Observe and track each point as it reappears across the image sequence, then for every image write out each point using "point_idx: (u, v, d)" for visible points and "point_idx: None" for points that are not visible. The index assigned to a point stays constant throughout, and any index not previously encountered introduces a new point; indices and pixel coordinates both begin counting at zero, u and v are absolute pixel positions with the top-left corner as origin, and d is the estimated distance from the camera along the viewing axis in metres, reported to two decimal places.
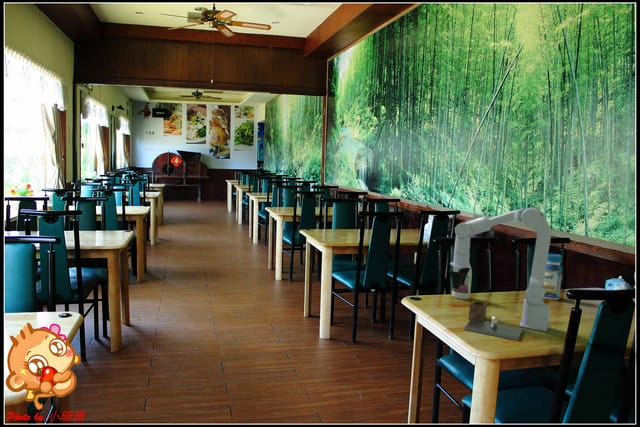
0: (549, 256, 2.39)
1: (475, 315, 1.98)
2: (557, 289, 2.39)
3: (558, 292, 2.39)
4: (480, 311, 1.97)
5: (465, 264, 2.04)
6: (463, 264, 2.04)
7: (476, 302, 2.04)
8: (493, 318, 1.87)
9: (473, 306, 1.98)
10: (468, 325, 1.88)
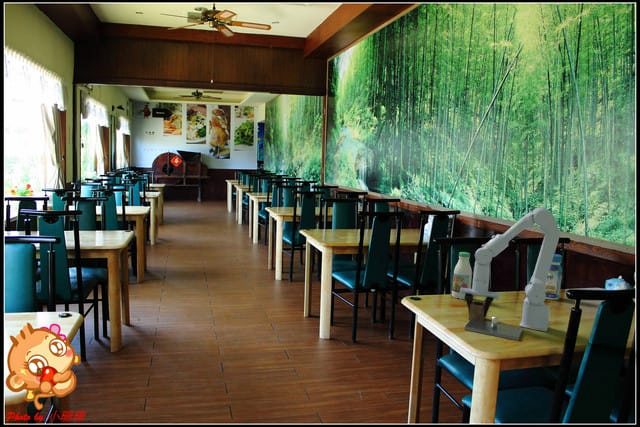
0: None
1: (475, 315, 1.98)
2: (557, 289, 2.39)
3: (558, 292, 2.39)
4: (480, 311, 1.97)
5: (474, 290, 1.99)
6: (472, 289, 2.00)
7: (476, 302, 2.04)
8: (493, 318, 1.87)
9: (473, 306, 1.98)
10: (468, 325, 1.88)
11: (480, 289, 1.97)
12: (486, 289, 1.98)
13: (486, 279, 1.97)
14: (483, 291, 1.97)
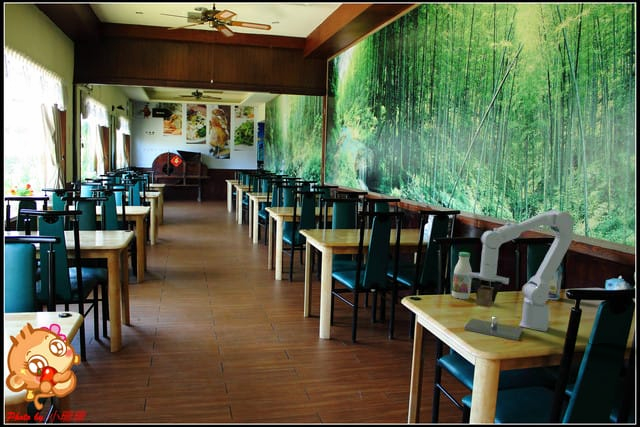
0: None
1: (483, 300, 1.92)
2: (557, 289, 2.39)
3: (558, 292, 2.39)
4: (488, 296, 1.91)
5: (482, 274, 1.93)
6: (480, 274, 1.94)
7: (484, 287, 1.98)
8: (493, 318, 1.87)
9: (481, 291, 1.92)
10: (468, 325, 1.88)
11: (488, 273, 1.91)
12: (494, 273, 1.92)
13: (496, 263, 1.92)
14: (491, 275, 1.91)
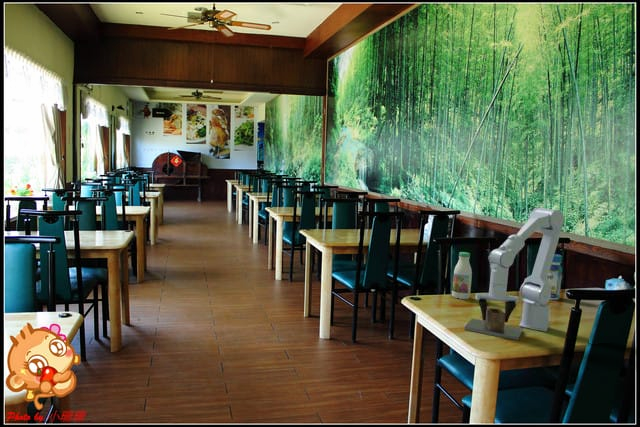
0: None
1: (496, 324, 1.84)
2: (557, 289, 2.39)
3: (558, 292, 2.39)
4: (502, 319, 1.84)
5: (494, 295, 1.84)
6: (491, 294, 1.85)
7: (489, 309, 1.90)
8: None
9: (494, 315, 1.84)
10: (468, 325, 1.88)
11: (501, 294, 1.84)
12: (505, 293, 1.85)
13: None
14: (504, 295, 1.84)
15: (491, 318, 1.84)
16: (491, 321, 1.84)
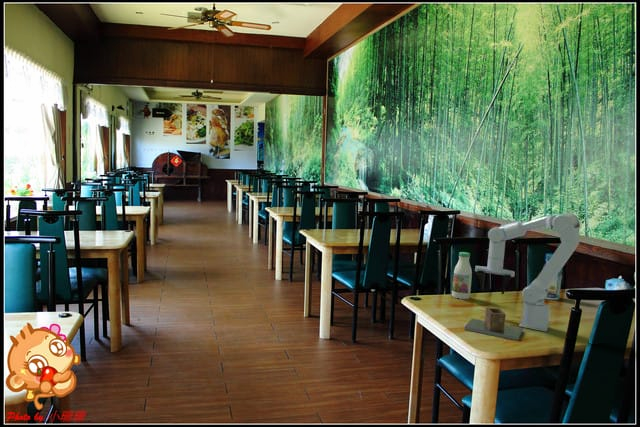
0: (549, 256, 2.39)
1: (496, 324, 1.84)
2: (557, 289, 2.39)
3: (558, 292, 2.39)
4: (502, 319, 1.84)
5: (489, 268, 2.04)
6: (488, 267, 2.04)
7: (489, 309, 1.90)
8: None
9: (494, 315, 1.84)
10: (468, 325, 1.88)
11: (495, 266, 2.02)
12: (501, 267, 2.03)
13: (498, 257, 2.01)
14: (498, 268, 2.02)
15: (491, 318, 1.84)
16: (491, 321, 1.84)
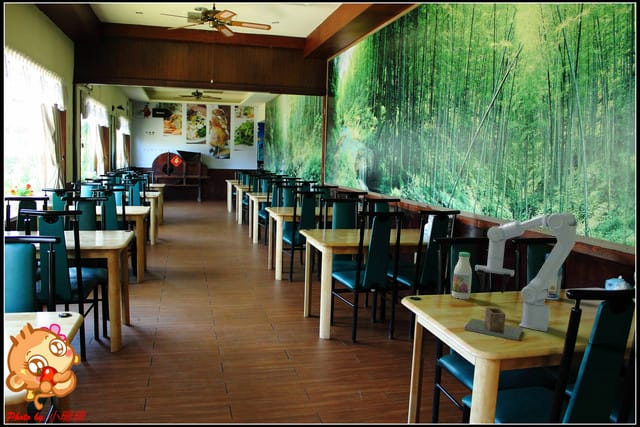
0: None
1: (496, 324, 1.84)
2: (557, 289, 2.39)
3: (558, 292, 2.39)
4: (502, 319, 1.84)
5: (489, 267, 2.05)
6: (487, 266, 2.06)
7: (489, 309, 1.90)
8: None
9: (494, 315, 1.84)
10: (468, 325, 1.88)
11: (495, 266, 2.04)
12: (501, 266, 2.04)
13: (497, 256, 2.03)
14: (498, 268, 2.04)
15: (491, 318, 1.84)
16: (491, 321, 1.84)
